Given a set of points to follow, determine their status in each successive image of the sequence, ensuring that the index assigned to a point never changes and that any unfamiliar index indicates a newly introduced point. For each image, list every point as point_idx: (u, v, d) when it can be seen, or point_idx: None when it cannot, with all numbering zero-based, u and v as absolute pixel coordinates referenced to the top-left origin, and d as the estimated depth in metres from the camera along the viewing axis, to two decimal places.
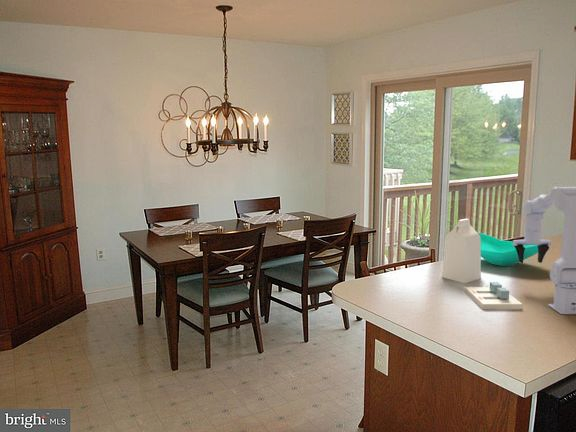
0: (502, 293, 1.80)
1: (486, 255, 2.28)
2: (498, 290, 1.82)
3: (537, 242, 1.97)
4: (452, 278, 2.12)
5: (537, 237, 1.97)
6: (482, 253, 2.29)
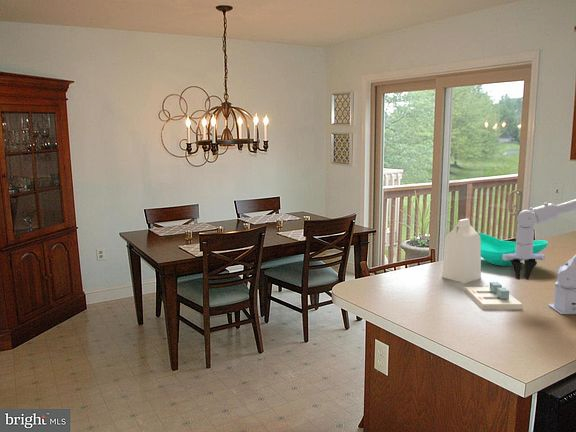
0: (502, 293, 1.80)
1: (486, 255, 2.28)
2: (498, 290, 1.82)
3: (529, 256, 1.76)
4: (452, 278, 2.12)
5: (529, 251, 1.76)
6: (482, 253, 2.29)
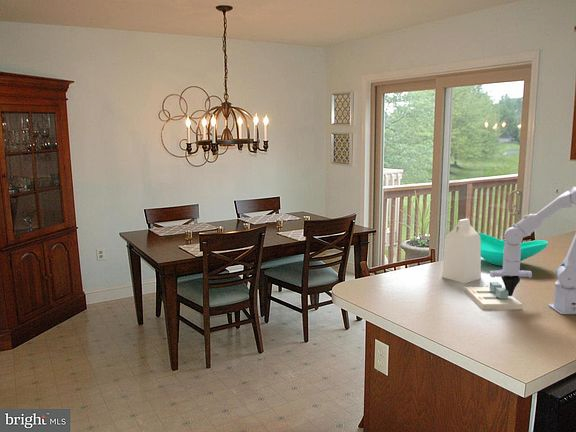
0: (501, 293, 1.80)
1: (486, 255, 2.28)
2: (497, 290, 1.82)
3: (516, 273, 1.78)
4: (452, 278, 2.12)
5: (516, 268, 1.78)
6: (482, 253, 2.29)
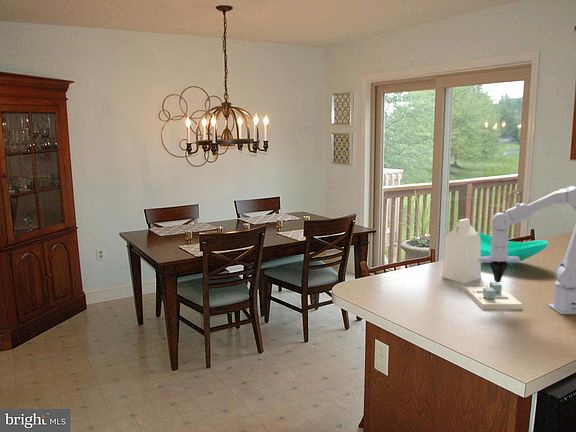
0: (488, 293, 1.80)
1: (486, 255, 2.28)
2: (484, 290, 1.82)
3: (504, 259, 1.77)
4: (452, 278, 2.12)
5: (504, 254, 1.77)
6: (482, 253, 2.29)
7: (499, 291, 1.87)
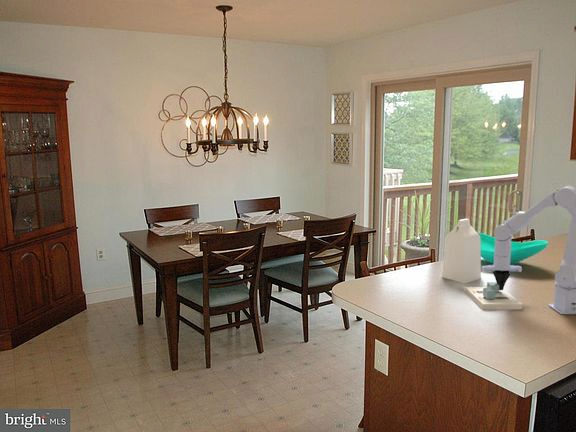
0: (488, 293, 1.80)
1: (486, 255, 2.28)
2: (484, 290, 1.82)
3: (506, 268, 1.85)
4: (452, 278, 2.12)
5: (507, 263, 1.85)
6: (482, 253, 2.29)
7: (496, 291, 1.87)
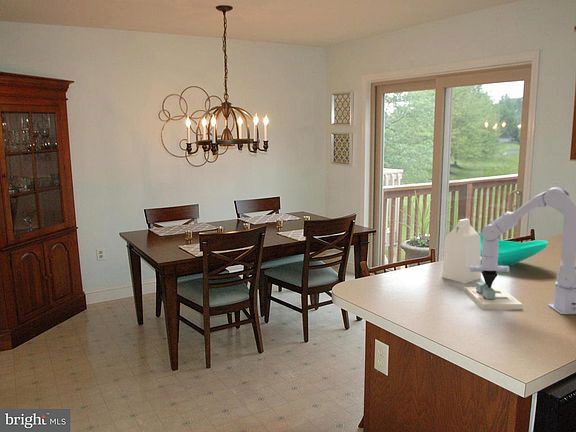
0: (488, 293, 1.80)
1: None
2: (484, 290, 1.82)
3: (494, 268, 1.85)
4: (452, 278, 2.12)
5: (494, 263, 1.85)
6: None
7: None
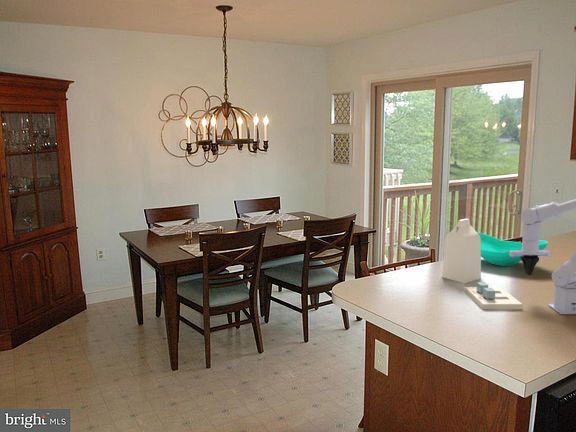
0: (488, 293, 1.80)
1: (486, 255, 2.28)
2: (484, 290, 1.82)
3: (535, 253, 1.82)
4: (452, 278, 2.12)
5: (536, 248, 1.82)
6: (482, 253, 2.29)
7: None
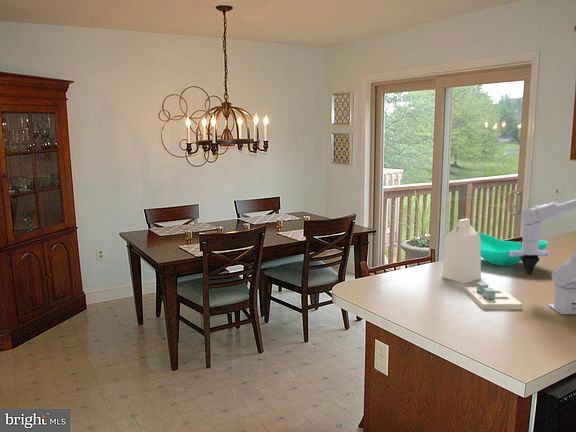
0: (488, 293, 1.80)
1: (486, 255, 2.28)
2: (484, 290, 1.82)
3: (535, 253, 1.82)
4: (452, 278, 2.12)
5: (536, 248, 1.82)
6: (482, 253, 2.29)
7: None
